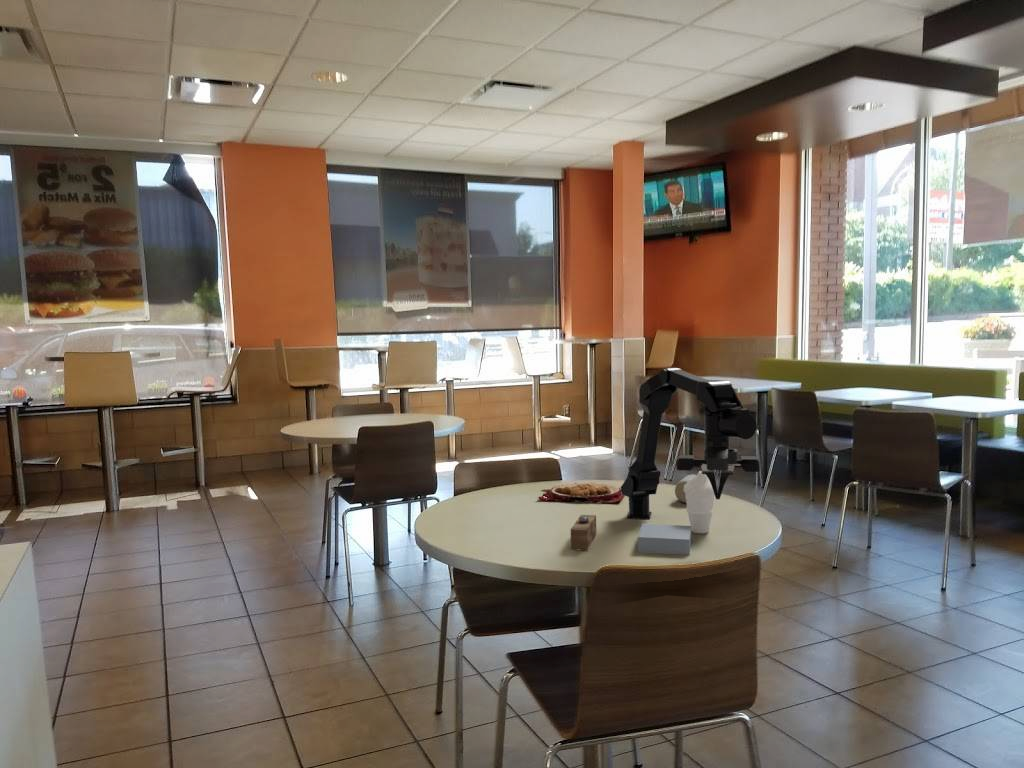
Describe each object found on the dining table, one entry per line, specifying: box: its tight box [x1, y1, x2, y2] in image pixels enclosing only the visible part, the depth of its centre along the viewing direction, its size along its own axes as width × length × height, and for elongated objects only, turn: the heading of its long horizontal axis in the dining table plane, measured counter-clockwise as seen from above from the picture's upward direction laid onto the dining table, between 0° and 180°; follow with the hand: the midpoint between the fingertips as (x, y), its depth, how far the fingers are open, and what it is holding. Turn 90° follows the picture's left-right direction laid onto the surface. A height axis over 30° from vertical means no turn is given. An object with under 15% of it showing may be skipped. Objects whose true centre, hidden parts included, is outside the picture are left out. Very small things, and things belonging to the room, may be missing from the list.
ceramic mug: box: [674, 474, 697, 504], centre depth 220 cm, size 11×8×8 cm
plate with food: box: [538, 482, 625, 505], centre depth 235 cm, size 24×26×3 cm
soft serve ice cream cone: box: [683, 470, 715, 534], centre depth 188 cm, size 8×8×16 cm
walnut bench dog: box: [570, 514, 597, 551], centre depth 183 cm, size 14×4×6 cm, turn 164°
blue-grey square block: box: [637, 523, 692, 556], centre depth 177 cm, size 12×12×4 cm
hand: (717, 499), depth 173 cm, fingers closed
